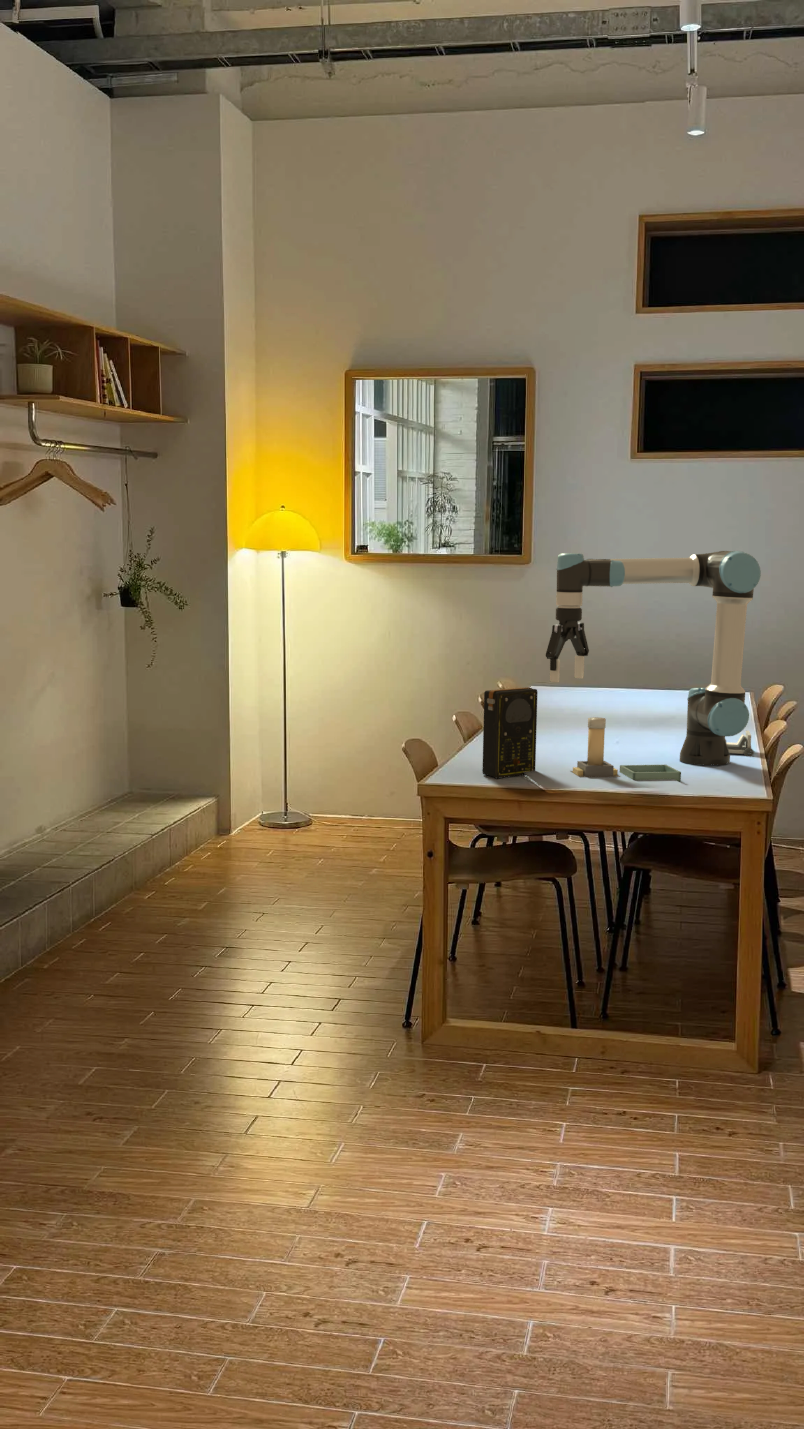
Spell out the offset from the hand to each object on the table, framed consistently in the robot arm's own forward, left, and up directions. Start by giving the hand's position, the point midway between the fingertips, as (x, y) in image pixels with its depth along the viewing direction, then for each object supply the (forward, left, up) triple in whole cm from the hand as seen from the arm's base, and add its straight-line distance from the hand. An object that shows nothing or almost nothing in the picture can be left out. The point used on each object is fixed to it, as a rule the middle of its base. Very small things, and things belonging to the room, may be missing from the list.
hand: (566, 680), depth 385 cm
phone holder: (-61, -29, -28) cm, 73 cm away
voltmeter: (+18, +4, -27) cm, 33 cm away
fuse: (-6, +10, -26) cm, 29 cm away
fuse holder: (-6, +10, -27) cm, 29 cm away
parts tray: (-21, +14, -27) cm, 37 cm away
